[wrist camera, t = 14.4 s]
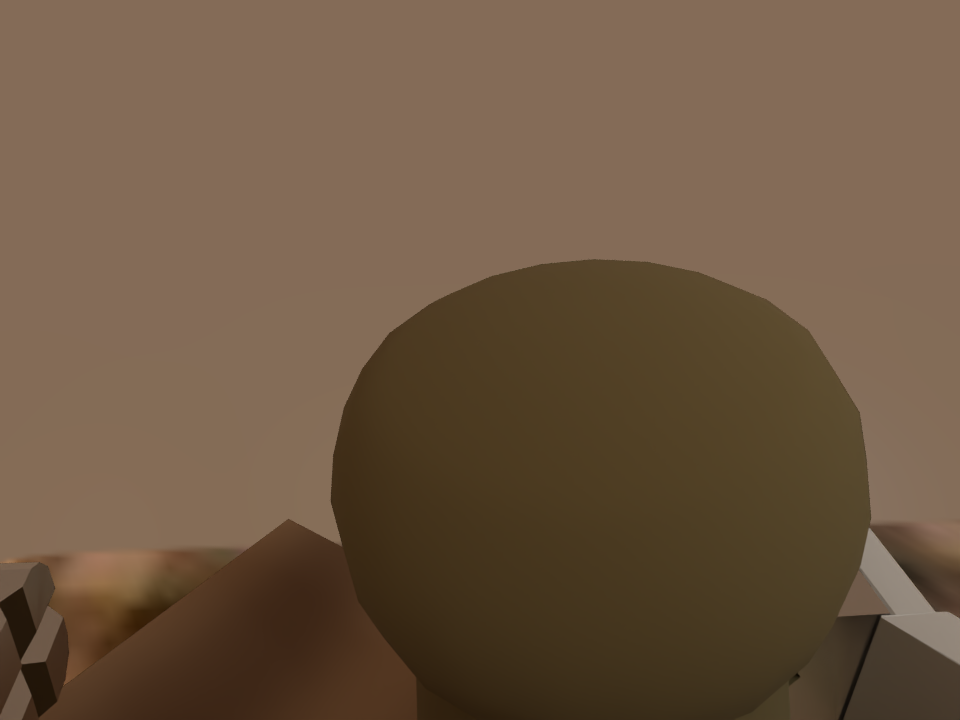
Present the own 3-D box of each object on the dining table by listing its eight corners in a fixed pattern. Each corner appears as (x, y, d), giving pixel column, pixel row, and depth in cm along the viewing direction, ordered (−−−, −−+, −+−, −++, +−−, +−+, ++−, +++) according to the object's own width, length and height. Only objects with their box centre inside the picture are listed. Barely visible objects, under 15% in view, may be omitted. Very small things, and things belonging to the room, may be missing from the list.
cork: (456, 731, 17) (357, 205, 11) (781, 758, 16) (866, 187, 10) (379, 1129, 12) (115, 556, 6) (847, 1209, 11) (1104, 600, 5)
